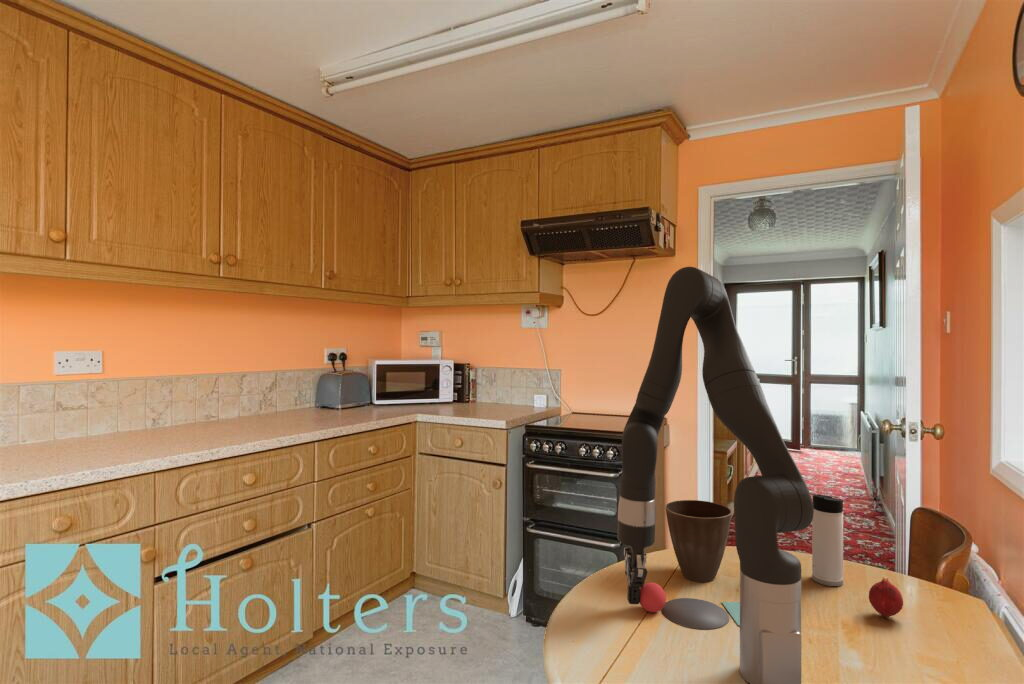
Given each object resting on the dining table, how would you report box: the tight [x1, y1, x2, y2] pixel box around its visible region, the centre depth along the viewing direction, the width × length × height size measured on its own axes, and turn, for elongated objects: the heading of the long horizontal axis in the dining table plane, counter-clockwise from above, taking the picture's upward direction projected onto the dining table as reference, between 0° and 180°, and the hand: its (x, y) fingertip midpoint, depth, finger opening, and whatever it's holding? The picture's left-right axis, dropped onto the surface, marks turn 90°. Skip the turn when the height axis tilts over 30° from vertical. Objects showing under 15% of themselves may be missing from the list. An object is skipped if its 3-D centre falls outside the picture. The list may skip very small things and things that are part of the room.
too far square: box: [721, 601, 740, 627], centre depth 116 cm, size 10×10×1 cm
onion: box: [868, 576, 904, 618], centre depth 115 cm, size 6×6×8 cm
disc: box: [661, 597, 730, 630], centre depth 116 cm, size 13×13×1 cm
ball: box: [639, 582, 667, 613], centre depth 117 cm, size 6×6×6 cm
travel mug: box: [811, 493, 844, 587], centre depth 132 cm, size 6×7×20 cm
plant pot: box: [664, 499, 733, 583], centre depth 135 cm, size 15×15×16 cm
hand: (633, 602), depth 117 cm, fingers closed
